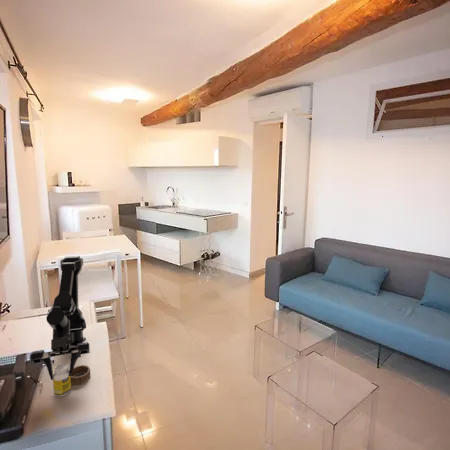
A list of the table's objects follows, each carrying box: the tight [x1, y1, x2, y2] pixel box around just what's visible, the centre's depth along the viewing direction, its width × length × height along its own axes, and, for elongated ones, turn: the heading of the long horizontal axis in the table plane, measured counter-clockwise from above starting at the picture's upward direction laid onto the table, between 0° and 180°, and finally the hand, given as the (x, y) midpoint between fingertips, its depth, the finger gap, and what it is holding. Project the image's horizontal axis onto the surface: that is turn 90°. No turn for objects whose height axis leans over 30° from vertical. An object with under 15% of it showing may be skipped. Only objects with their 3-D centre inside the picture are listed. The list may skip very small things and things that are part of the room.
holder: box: [70, 364, 91, 386], centre depth 119 cm, size 7×7×3 cm
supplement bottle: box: [52, 363, 72, 398], centre depth 111 cm, size 5×5×10 cm
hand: (61, 377), depth 109 cm, fingers closed on supplement bottle, 5 cm apart
